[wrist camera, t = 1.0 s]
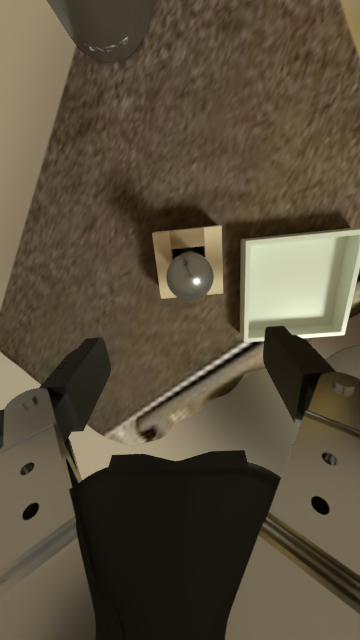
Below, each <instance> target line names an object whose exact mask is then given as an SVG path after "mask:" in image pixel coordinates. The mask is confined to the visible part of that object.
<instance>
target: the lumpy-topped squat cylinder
mask: <svg viewBox="0 0 360 640" xmlns="http://www.w3.org/2000/svg"><path fill="white" fill-rule="evenodd" d="M326 361H327V362H328V363H329V364H330V365H331V367H332V368H333V369H334V370H335V371H336V372H341V373H345V374H348V375H351V376H354V377H356V378H358V379H359V380H360V345H356V346H352V347H348V348H344V349H342V350H340V351H338V352H336V353H335V354H333V355H331V356H330V357H328V358H327V359H326Z"/></svg>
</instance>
